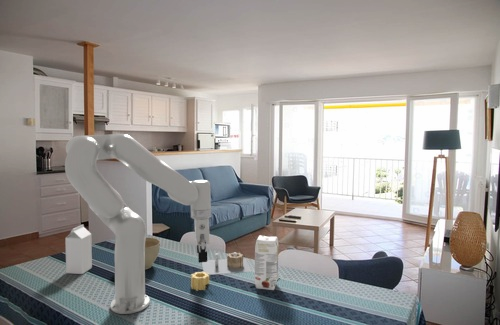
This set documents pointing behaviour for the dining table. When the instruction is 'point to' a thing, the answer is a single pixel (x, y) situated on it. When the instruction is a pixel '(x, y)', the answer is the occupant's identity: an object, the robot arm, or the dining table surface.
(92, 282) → the dining table surface
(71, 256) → the milk carton
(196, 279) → the ochre gear
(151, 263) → the planter bowl
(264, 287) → the juice carton
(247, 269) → the gear board
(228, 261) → the beech gear
